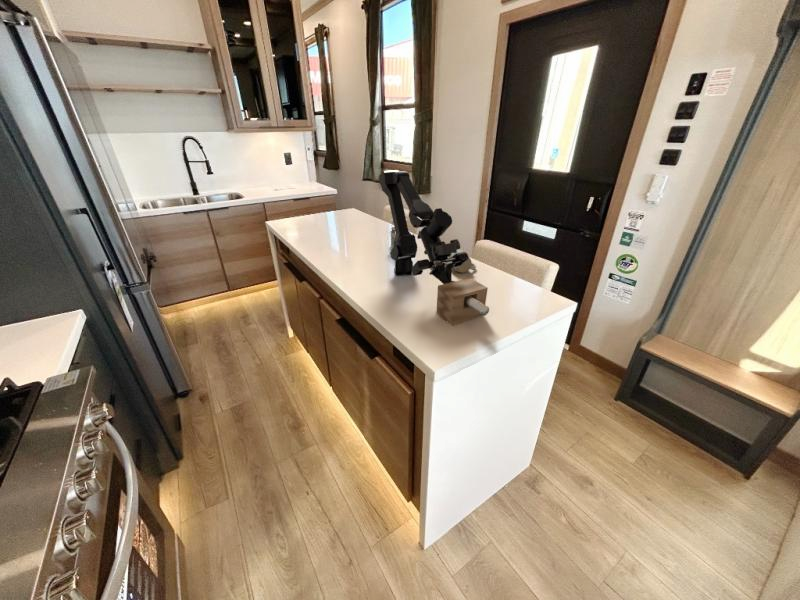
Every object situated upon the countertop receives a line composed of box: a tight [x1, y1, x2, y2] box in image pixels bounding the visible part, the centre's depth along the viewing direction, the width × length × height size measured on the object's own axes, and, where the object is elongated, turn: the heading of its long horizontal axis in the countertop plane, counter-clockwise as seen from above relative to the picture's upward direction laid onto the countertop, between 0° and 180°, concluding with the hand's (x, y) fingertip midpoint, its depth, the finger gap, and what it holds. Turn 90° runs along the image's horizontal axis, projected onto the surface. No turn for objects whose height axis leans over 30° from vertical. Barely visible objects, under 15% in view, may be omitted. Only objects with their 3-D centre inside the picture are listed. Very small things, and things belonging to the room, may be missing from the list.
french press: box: [388, 217, 409, 251], centre depth 148 cm, size 10×12×25 cm
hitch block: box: [435, 277, 489, 326], centre depth 96 cm, size 8×12×10 cm, turn 118°
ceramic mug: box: [448, 248, 477, 274], centre depth 128 cm, size 11×8×8 cm
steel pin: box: [448, 280, 490, 317], centre depth 93 cm, size 16×5×5 cm, turn 28°
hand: (450, 287), depth 100 cm, fingers closed
